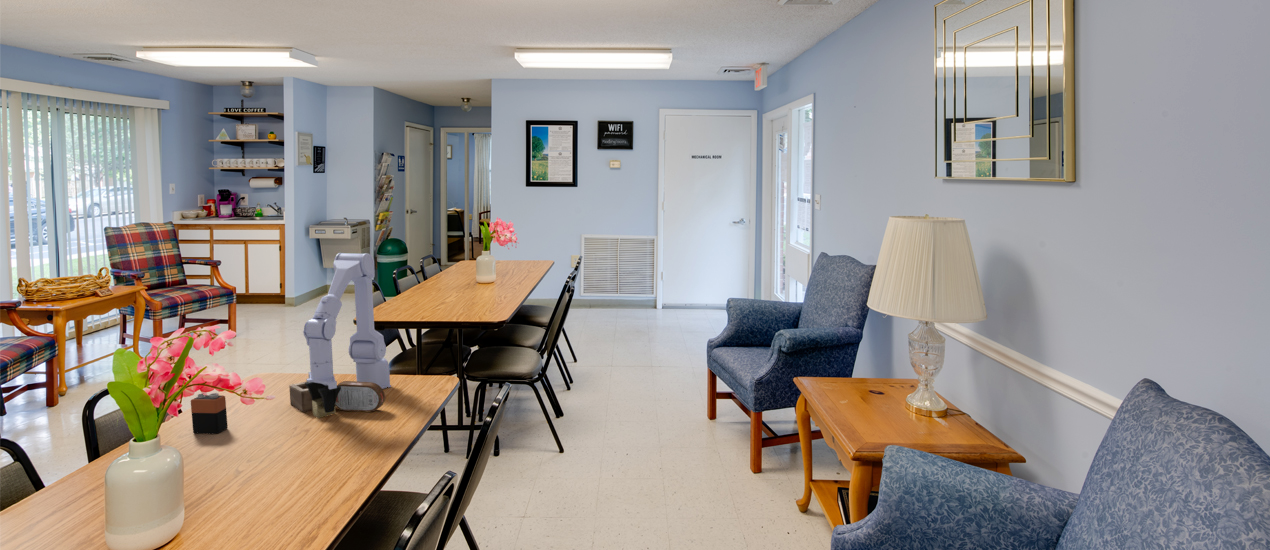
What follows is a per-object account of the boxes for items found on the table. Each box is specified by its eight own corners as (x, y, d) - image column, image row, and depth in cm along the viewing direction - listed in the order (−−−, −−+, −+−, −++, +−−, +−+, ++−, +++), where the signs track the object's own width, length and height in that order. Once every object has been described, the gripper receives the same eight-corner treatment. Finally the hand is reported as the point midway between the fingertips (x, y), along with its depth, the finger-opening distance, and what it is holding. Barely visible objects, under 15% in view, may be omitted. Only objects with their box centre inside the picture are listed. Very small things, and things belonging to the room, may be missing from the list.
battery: (218, 434, 177) (215, 397, 175) (192, 433, 177) (189, 396, 175) (228, 428, 181) (225, 391, 180) (203, 427, 181) (200, 391, 180)
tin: (386, 410, 196) (384, 381, 195) (381, 413, 193) (379, 384, 192) (336, 408, 198) (334, 379, 197) (330, 411, 195) (328, 382, 194)
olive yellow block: (331, 411, 195) (330, 396, 194) (335, 414, 193) (334, 398, 192) (312, 415, 191) (312, 400, 191) (317, 418, 189) (316, 402, 188)
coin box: (325, 397, 207) (324, 378, 206) (337, 404, 201) (336, 384, 200) (290, 404, 200) (289, 384, 199) (302, 412, 194) (301, 391, 193)
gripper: (296, 359, 192) (299, 405, 194) (317, 369, 182) (319, 418, 184) (321, 354, 197) (324, 400, 199) (343, 364, 187) (345, 412, 189)
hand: (323, 408), depth 192 cm, fingers open, 7 cm apart
